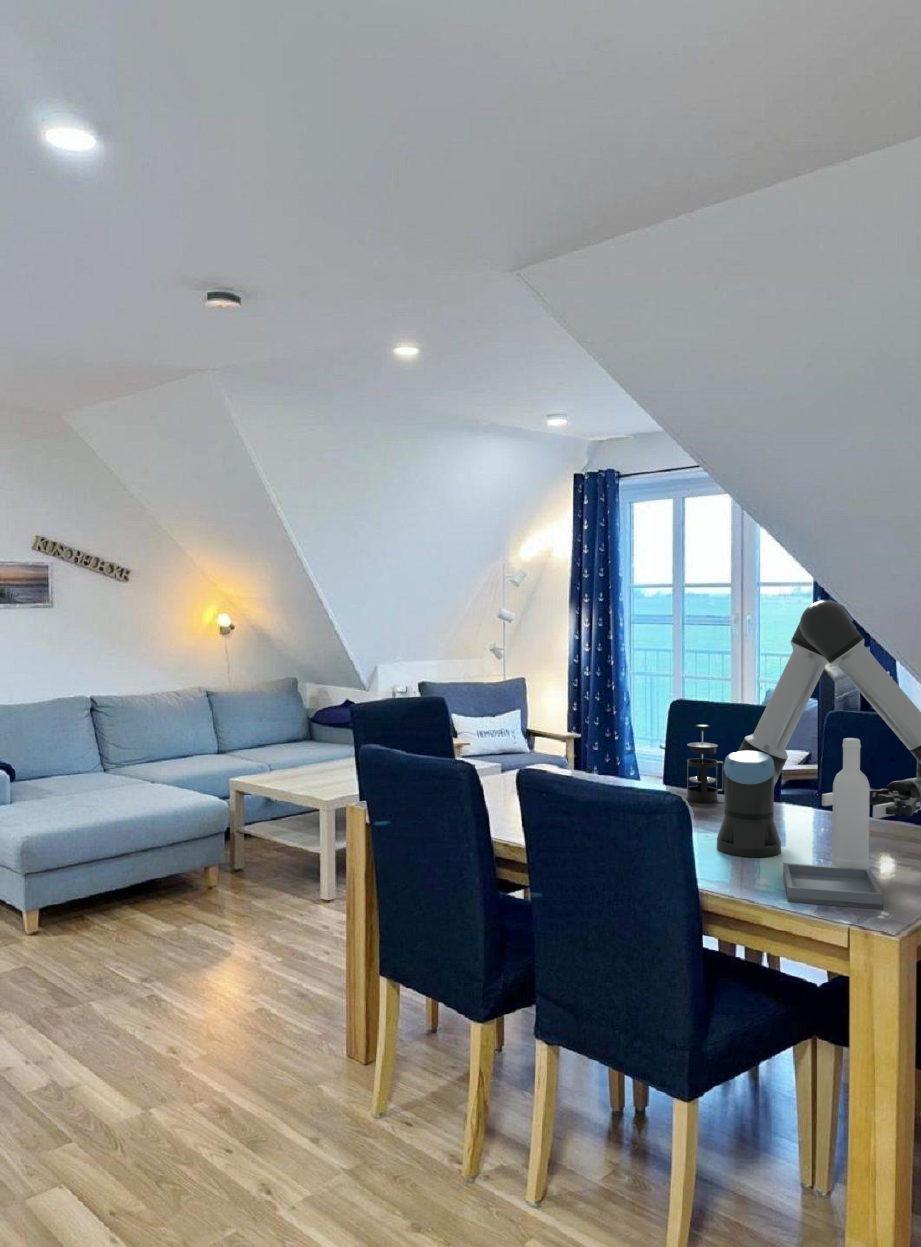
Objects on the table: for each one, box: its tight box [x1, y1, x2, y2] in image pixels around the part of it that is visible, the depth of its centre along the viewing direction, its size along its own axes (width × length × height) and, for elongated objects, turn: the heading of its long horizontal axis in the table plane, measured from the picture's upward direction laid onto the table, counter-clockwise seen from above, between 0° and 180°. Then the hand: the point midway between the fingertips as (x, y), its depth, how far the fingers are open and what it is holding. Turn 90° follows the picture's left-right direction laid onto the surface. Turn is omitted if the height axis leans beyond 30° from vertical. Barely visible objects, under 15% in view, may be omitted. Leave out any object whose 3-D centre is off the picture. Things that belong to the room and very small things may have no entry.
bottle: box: [831, 737, 870, 869], centre depth 216 cm, size 8×8×30 cm
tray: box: [782, 862, 884, 910], centre depth 201 cm, size 18×18×3 cm
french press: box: [686, 724, 725, 804], centre depth 289 cm, size 12×9×23 cm
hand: (848, 806), depth 215 cm, fingers open, 13 cm apart
